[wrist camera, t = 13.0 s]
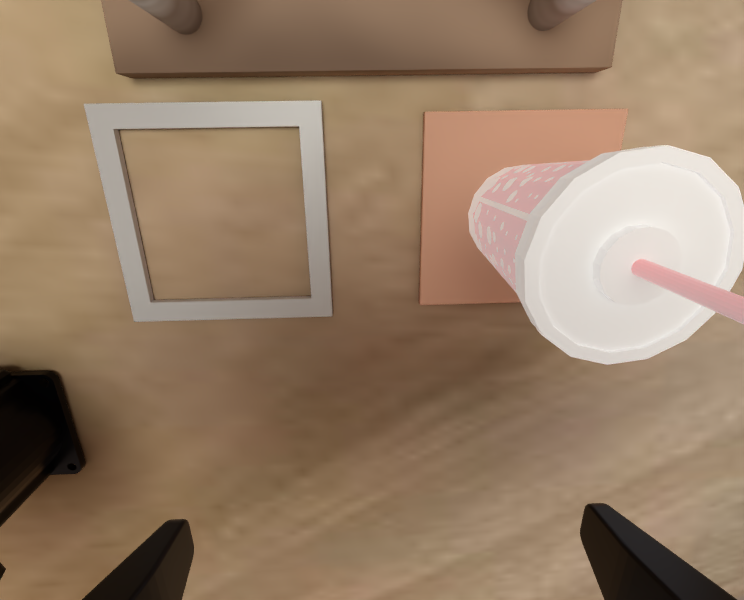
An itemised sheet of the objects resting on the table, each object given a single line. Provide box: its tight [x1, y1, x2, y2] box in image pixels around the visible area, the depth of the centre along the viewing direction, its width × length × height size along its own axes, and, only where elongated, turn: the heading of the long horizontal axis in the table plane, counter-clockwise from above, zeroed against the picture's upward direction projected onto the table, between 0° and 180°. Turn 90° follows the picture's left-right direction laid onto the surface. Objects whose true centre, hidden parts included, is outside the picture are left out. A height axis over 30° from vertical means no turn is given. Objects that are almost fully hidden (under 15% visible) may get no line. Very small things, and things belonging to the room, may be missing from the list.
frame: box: [84, 101, 333, 322], centre depth 19 cm, size 10×10×1 cm
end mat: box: [419, 109, 628, 305], centre depth 20 cm, size 9×9×1 cm
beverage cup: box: [468, 145, 744, 365], centre depth 13 cm, size 6×6×14 cm
